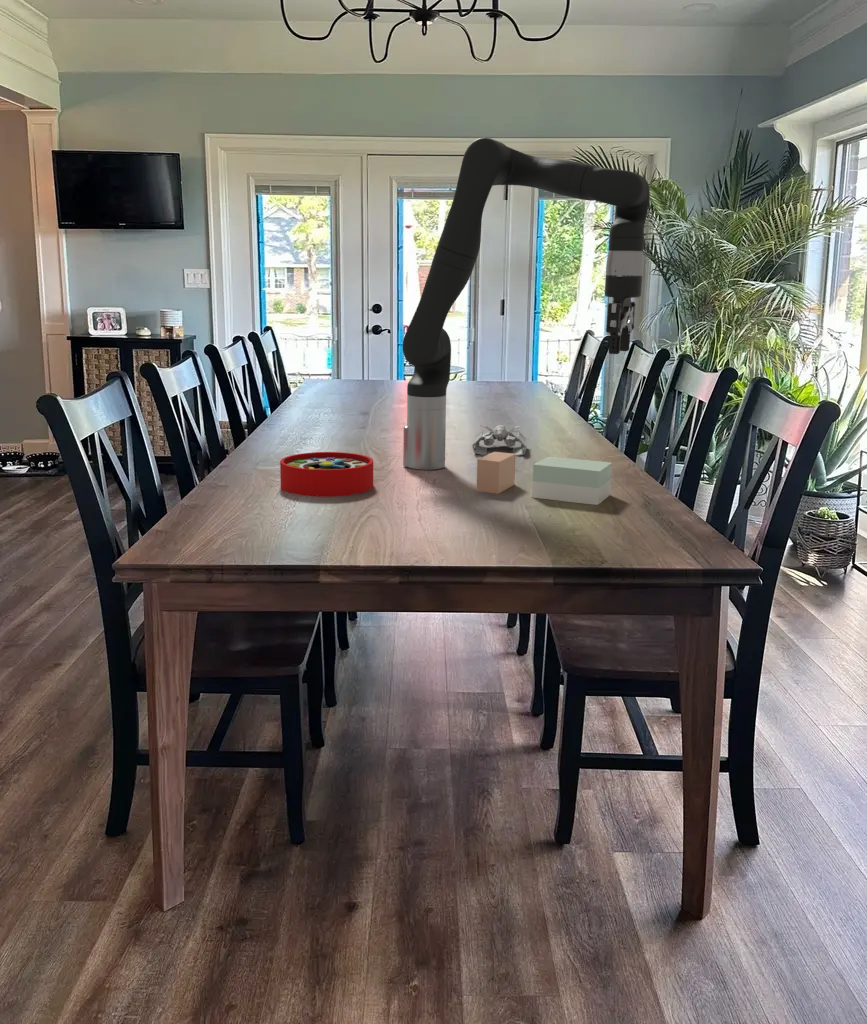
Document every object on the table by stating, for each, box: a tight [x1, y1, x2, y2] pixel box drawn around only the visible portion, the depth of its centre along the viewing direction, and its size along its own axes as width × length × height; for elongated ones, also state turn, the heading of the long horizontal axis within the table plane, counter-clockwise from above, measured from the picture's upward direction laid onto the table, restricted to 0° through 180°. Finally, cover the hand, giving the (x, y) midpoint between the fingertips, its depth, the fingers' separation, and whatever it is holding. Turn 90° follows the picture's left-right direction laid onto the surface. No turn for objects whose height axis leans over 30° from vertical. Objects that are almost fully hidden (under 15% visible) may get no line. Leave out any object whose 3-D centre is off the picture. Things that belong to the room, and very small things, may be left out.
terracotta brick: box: [476, 451, 517, 495], centre depth 202 cm, size 5×10×7 cm, turn 155°
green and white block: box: [531, 456, 613, 506], centre depth 195 cm, size 14×10×7 cm
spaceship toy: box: [471, 424, 528, 457], centre depth 245 cm, size 14×20×6 cm
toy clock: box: [279, 451, 374, 498], centre depth 201 cm, size 20×6×20 cm
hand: (618, 352), depth 198 cm, fingers open, 8 cm apart
